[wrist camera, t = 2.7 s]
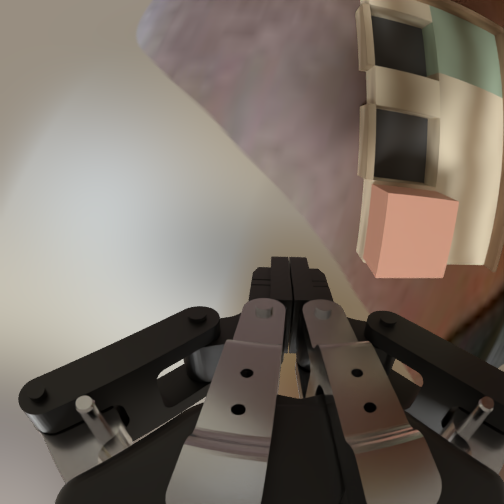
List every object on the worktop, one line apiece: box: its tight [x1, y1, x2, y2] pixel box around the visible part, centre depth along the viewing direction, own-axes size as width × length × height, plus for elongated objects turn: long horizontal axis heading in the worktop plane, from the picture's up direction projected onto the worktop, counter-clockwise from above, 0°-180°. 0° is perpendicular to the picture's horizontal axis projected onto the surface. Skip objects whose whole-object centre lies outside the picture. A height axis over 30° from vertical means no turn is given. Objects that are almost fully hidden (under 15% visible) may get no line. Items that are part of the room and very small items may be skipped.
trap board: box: [355, 0, 504, 272], centre depth 17 cm, size 15×24×4 cm, turn 0°
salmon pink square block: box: [363, 184, 459, 278], centre depth 19 cm, size 6×6×4 cm
